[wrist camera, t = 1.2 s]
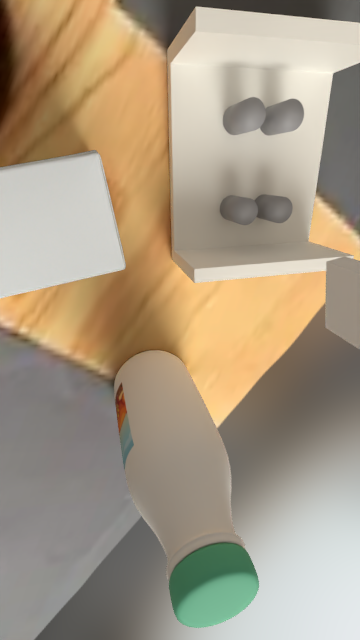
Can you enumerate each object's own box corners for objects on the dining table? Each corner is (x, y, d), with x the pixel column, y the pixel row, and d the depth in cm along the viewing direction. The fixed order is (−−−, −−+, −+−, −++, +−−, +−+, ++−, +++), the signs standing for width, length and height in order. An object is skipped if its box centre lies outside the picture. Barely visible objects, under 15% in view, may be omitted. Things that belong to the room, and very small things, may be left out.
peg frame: (171, 259, 30) (194, 282, 23) (166, 50, 23) (195, 6, 17) (300, 249, 32) (351, 268, 26) (326, 61, 26) (401, 27, 20)
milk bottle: (127, 339, 32) (179, 552, 14) (198, 356, 34) (315, 551, 17) (103, 404, 34) (121, 658, 16) (171, 415, 37) (249, 642, 19)
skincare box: (-17, 266, 26) (-74, 319, 17) (-55, 179, 23) (-150, 184, 14) (114, 238, 28) (128, 273, 18) (93, 154, 25) (97, 143, 16)
